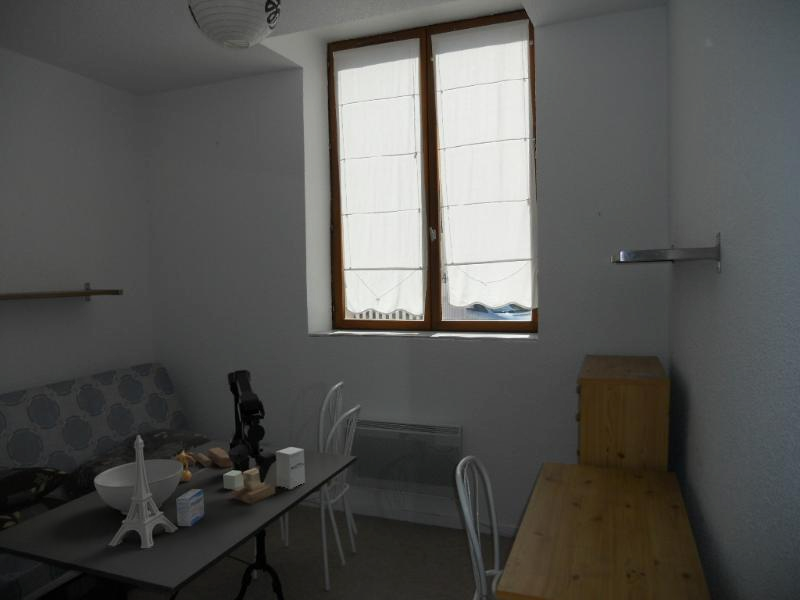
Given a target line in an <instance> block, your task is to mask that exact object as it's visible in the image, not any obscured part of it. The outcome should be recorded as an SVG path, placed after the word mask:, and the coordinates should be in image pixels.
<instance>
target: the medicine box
mask: <svg viewBox="0 0 800 600" xmlns="http://www.w3.org/2000/svg"><path fill="white" fill-rule="evenodd" d="M175 499H176V500H175V501H176V516H177V518H176V519H177V526H179V527H192V526H194V525H195V524H196V523H197V522H198V521H200V520H201V519H203V518H204V517H205V505H204V504H205V503H204V502H205V501H204V490H203V489H199V488H195V489H193V488H192V489H190V490H188V491H186V492H185V493H183V494H181V495H180V496H179V497H177V498H175Z"/></svg>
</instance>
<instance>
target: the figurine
mask: <svg viewBox="0 0 800 600" xmlns="http://www.w3.org/2000/svg"><path fill="white" fill-rule="evenodd" d="M186 457H188V458H191V459H192V460H193V461H195V464H196V459H195V460H194V459H193V458H192V457H191V456H188V455H186V453H185V451H184V450H183V451H181V453H180V454H177V456H175V457H174V458H173V460H174V461H176V459H177V460H178V458H180V459H181V461H180V463H182V464H184V463H185V465H187V466H185V470H184V469H183V472H182V476H181V479H180V481H182V482H184V483H185V482H188V481H190V480H191V478H192V473H191V471H189V470H188V467H189V466H188V463H187V461H185V459H186Z"/></svg>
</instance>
